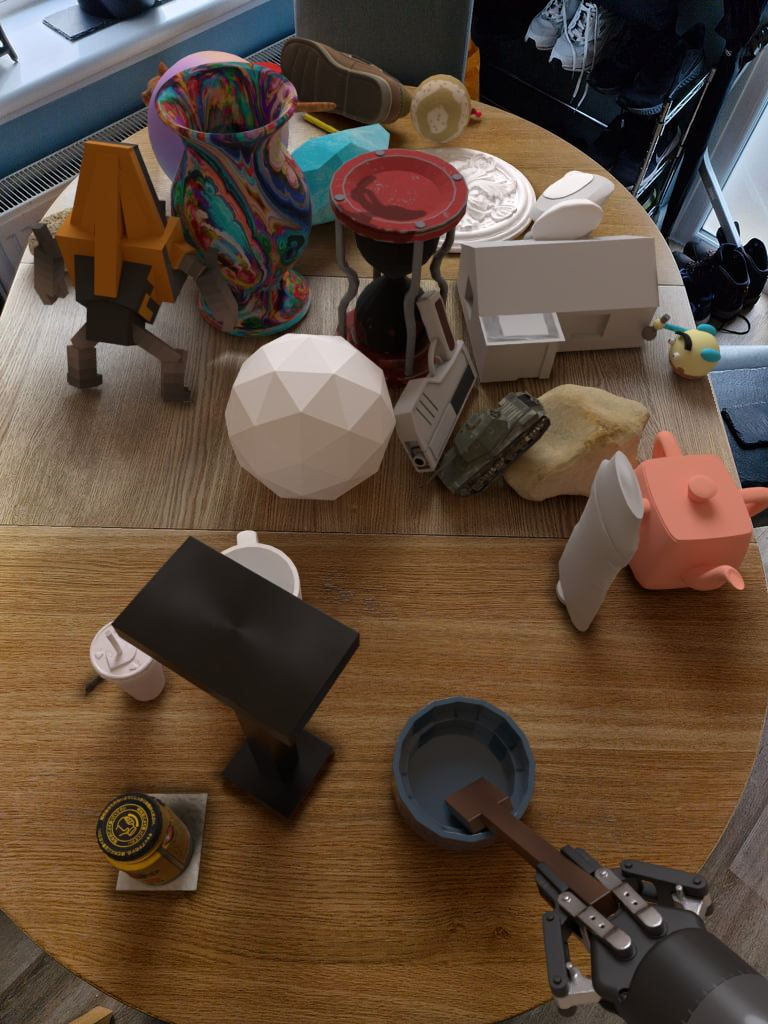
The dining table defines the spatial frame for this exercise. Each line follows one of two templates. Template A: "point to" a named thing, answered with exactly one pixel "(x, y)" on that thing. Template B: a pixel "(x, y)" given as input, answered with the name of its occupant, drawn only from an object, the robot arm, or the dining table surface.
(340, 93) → the boat shoe
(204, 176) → the vase
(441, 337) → the futuristic handgun
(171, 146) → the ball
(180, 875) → the condiment
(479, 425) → the toy tank
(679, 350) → the figurine
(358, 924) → the dining table surface
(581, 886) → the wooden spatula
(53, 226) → the decorative item
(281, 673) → the black pedestal stand
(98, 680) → the stick
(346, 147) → the crystal
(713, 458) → the teapot
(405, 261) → the hourglass
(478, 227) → the ceiling medallion
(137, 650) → the smoothie
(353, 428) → the geometric sculpture
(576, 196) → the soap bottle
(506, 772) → the bowl
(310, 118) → the pencil
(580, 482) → the stone
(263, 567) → the mug
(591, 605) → the tall pale column
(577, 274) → the miniature house
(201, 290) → the toy robot
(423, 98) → the mushroom
